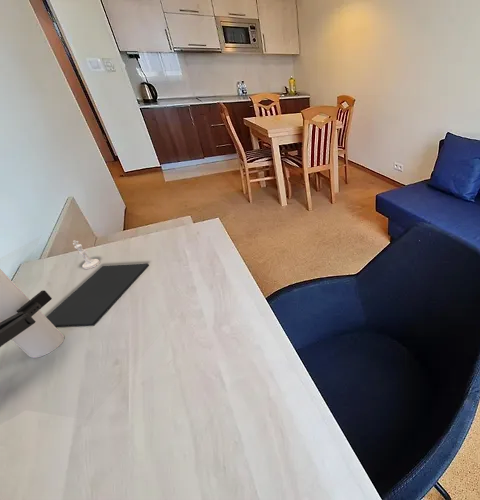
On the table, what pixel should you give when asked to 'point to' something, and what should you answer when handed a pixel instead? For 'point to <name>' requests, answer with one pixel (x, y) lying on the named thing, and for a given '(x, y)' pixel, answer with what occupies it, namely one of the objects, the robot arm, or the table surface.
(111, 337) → the table surface
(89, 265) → the chess piece
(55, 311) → the mat
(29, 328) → the cylindrical container
